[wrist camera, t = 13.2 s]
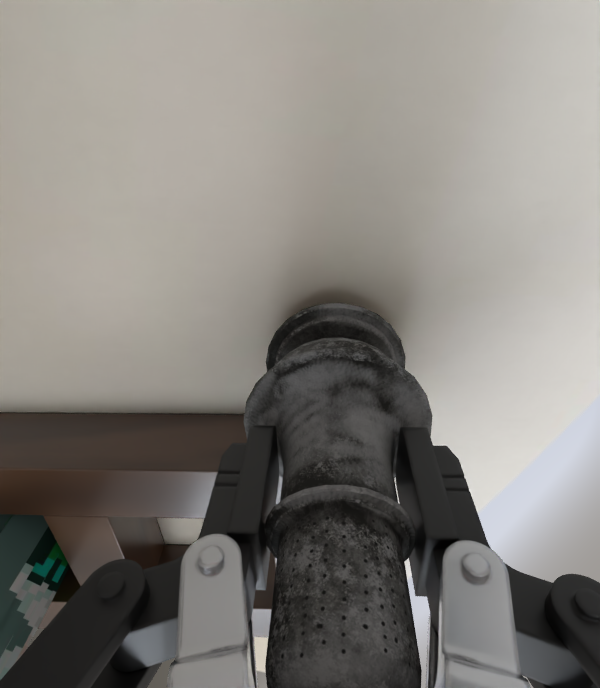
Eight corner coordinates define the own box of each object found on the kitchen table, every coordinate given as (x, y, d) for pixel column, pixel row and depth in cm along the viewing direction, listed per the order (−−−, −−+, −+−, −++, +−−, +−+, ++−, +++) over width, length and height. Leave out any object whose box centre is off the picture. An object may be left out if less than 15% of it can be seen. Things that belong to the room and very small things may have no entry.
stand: (-137, 411, 21) (-212, 465, 18) (337, 414, 20) (339, 473, 17) (-24, 567, 28) (-65, 625, 25) (335, 578, 27) (336, 640, 24)
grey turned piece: (283, 273, 15) (183, 707, 5) (440, 323, 15) (662, 801, 5) (243, 400, 18) (128, 834, 8) (376, 438, 18) (436, 884, 8)
